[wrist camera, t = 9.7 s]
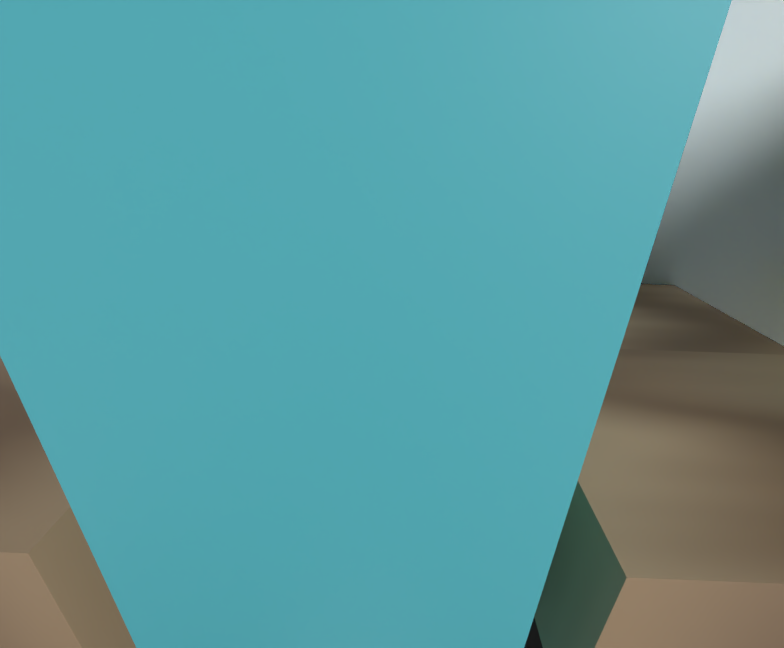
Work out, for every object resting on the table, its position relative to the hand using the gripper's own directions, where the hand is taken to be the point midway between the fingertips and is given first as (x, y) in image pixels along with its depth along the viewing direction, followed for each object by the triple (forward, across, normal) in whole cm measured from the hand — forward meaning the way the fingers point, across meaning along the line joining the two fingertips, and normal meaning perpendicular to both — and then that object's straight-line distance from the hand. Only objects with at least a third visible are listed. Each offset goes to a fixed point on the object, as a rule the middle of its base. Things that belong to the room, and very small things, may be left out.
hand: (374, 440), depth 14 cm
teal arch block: (0, 0, +5) cm, 5 cm away
